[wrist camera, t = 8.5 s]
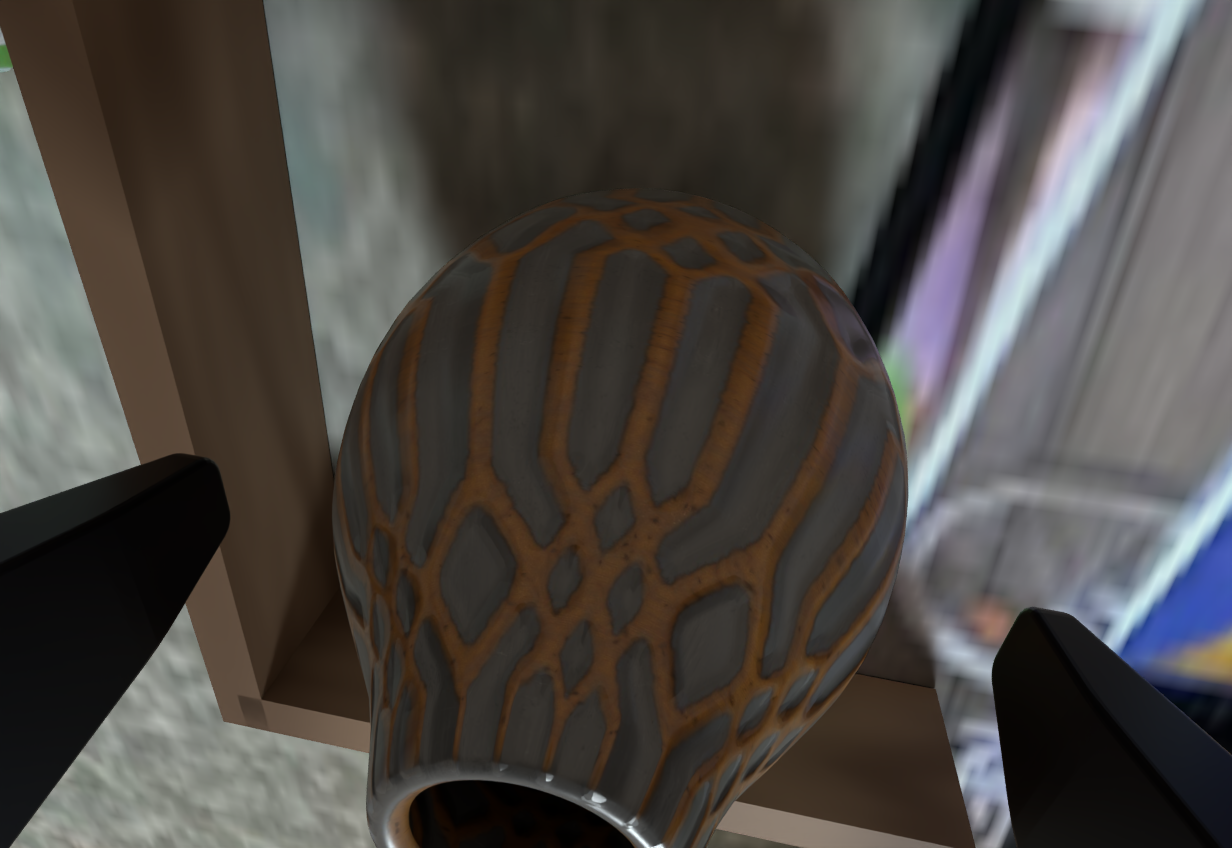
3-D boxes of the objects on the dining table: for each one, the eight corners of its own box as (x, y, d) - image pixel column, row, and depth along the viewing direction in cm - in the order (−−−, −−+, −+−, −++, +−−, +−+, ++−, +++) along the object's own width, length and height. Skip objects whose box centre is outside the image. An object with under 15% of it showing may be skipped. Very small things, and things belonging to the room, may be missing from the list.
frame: (1393, -221, 8) (1791, -352, 5) (921, 718, 16) (957, 881, 13) (142, -312, 9) (-155, -456, 6) (313, 597, 18) (223, 721, 15)
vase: (474, 107, 11) (-103, 354, 4) (928, 187, 11) (1325, 659, 3) (465, 468, 15) (169, 955, 7) (801, 539, 14) (847, 1137, 7)
